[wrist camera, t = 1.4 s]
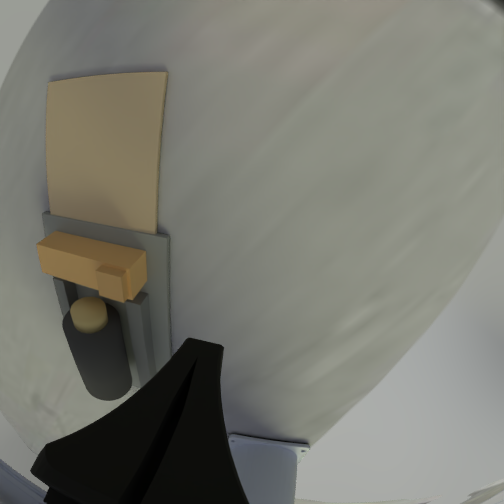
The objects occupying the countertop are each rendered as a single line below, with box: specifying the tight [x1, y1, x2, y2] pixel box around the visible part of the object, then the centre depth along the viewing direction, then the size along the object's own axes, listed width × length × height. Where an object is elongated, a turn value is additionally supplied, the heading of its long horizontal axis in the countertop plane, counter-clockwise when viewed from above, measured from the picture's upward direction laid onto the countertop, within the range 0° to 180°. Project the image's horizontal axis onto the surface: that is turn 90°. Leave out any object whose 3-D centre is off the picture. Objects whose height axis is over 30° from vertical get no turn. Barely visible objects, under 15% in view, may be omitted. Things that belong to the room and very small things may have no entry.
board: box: [42, 72, 172, 388], centre depth 17 cm, size 24×10×2 cm, turn 172°
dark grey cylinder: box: [62, 297, 132, 401], centre depth 18 cm, size 7×4×4 cm, turn 172°
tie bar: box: [36, 231, 147, 303], centre depth 15 cm, size 2×7×3 cm, turn 82°
